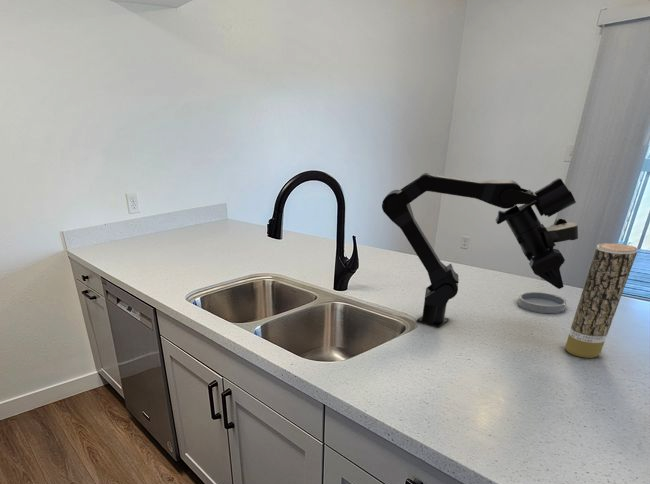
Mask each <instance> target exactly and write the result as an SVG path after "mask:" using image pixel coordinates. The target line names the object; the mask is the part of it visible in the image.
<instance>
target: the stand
mask: <svg viewBox="0 0 650 484" xmlns="http://www.w3.org/2000/svg"><path fill="white" fill-rule="evenodd" d="M517 305H518V306H519V307H520V308H522V309H524V310H527V311H529V312H534V313H538V314H539V313H540V314H559V313H562V312H564V311H565V309H566V305H567V300H566V299H565V298H564V297H562V296H560V295H557V294H554V293H553V294H552V293H548V292H542V291H541V292H540V291H528V292H523V293H520V295H519V296H518V300H517Z"/></svg>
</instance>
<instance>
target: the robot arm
mask: <svg viewBox="0 0 650 484" xmlns="http://www.w3.org/2000/svg"><path fill="white" fill-rule="evenodd" d="M426 192H431V193H437V194H443V195H444V194H445V195H450V196H458V197H462V198H471V199H475V200H478V201H481V202H484V203H486V204H489V205H492V206H494V207H497V208H501V209H504V211H503V210H498V211H497V217H496V218H495V223H496V224H497V225H500V224H502V223H503V222H506V224H507V226H508V227H509V229H510V231H511V232H512V234H513V236H514V238H515V239H516V241H517V243H518V245H519V246H520V250H521V251H522V254H523V255H524V256H525V257H526V259H527V260H528V261H529V262H528V264H529V267H530V269H531V270H532V272H533V274H534V275H535V276H538V277H539V278H541V279H542V280H544V281H546V282H547V283H549V284H550V285H552V286H553V287H555V288H556V289H558V290H561V289H563V288H564V287H565V286H564V282H563V277H562V274H561V273H562V272H561V269H560V268H561V267H562V265H563V264H565V261H566V259H565V258H564V256H563V254H562V252H561V251H560V250H559V249H558V248H554V247H556V243H560V242H566V241H575V240H578V239H579V227H578V224H577V223H576V222H575V221H571V220H570V221H568V222H567V220H566V219H565V218H564V217H560V218H556V219H555V220H554V222H553V224H552V225H550V226H545V225H544V223H541V220H540V219H539V218H538V216H537V214H536V212H535V210H534V209H533V206H534V207H535V209H536V210H537V212H538V214H539V216H540V217H543V216H545V217H547V218H550V217H552V216H555V214H557V213H560V212H562V211H563V210H565V209H567V208H569V207H571V206H573V205H575V204H576V203H577V202H576V199H575V197H574V195H573V194H572V191H571V190H570V189H568V186H566V184H565V183H564V181H563V179H562V178H560V177H558V178H557V177H556V179H554V180H552V181H551V182H550V183H548V184H546V185H545V186H543V187H541V188H540V189H538V190H536V191H533V190H531V189H526V188H523V187H521V185H520V184H519V183H518V182H516V181H515V180H513V179H492V180H474V179H468V178H467V179H466V178H460V177H453V176H445V175H440V174H439V175H438V174H433V173H431V172H424V173H422V174H420V176H418V177H417V178H416V179H415V180H412V181H411V182H409V183H408V184H406V185H405V186H403V187H402V188H400V189H393V190H390V192H388V193H387V194H386V196H385V197H383V200H382V203H381V209H382V212H383V214H385V215H386V216H387V218H388V219H390V221H391V222H392V223H393V224H395V226H397V227H398V228H399V229H400V230H401V232H402V233H403V235H404V236H405V238H406V240H407V241H408V243H409V245H410V246H411V247H412V249H413V251H414V252H415V255H417V257H418V259H419V261H420V262H421V264H422V265H423V267H424V268H425V270H426V272H427V274H428V278H429V281H430V284H429V285H428V286H427V287H426V288H425V292H424V293H425V294H424V301H423V309H422V315H421V316H420V317H418V318H417V319H416V322H418V323H421V324H425V325H428V326H432V327H434V328H435V327H436V328H439V327H442V326H443V325H444V324H446V323H447V322H449V321H450V318H448V317H445V316H446V311H447V304H448V303H449V300H452V299H453V298H455V297H456V296H457V294H458V292H459V282H460V279H459V274H458V273H456V271H455V269H454V267H453V265H452V263H449V264H448V265H445V264H444V263H443V262H442V261H441V259H440V258H439V256H438V255H437V253H436V251H435V250H434V248H433V246H432V244H431V243H430V241H429V240H428V238H427V236H426V235H425V234H424V231H423V230H422V229H421V227H420V225H419V223H418V222H417V220H416V219H415V215H414V213H413V209H412V206H411V203H412V202H413V201H415V200H417V199H418V198H419V197H420V196H422V195H423V194H424V193H426ZM518 205H520V206H518ZM505 209H507V210H505Z"/></svg>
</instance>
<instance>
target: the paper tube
mask: <svg viewBox="0 0 650 484" xmlns="http://www.w3.org/2000/svg"><path fill="white" fill-rule="evenodd" d="M594 250H595V251H594V254H593V257H592V259H591V263H590V266H589V270H588V273H587V276H586V279H585V281H584V286H583V288H582V291H581V295H580V298H579V301H578V304H577V308H576V311H575V313H574V316H573V320H572V323H571V326H570V329H569V333H568V336H567V340H566V342H565V346H564V348H565V350H566V352H567V353H568V354H571V355H572V356H576V357H579V358H584V359H590V358H591V359H592V358H594V359H595V358H597V357H598V356H600V355H601V353H602V350H603V347H604V345H605V341H606V340H607V337H608V334H609V331H610V329H611V326H612V323H613V320H614V317H615V315H616V312H617V309H618V307H619V304H620V300H621V298H622V296H623V293H624V289H625V287H626V284H627V281H628V279H629V277H630V273H631V271H632V268H633V265H634V262H635V260H636V257H637V254H638V250H639V248H638V247H636V246H634V245H629V244H624V243H613V242H611V243H607V242H605V243H599V244H597V245H596V248H595V249H594Z"/></svg>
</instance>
